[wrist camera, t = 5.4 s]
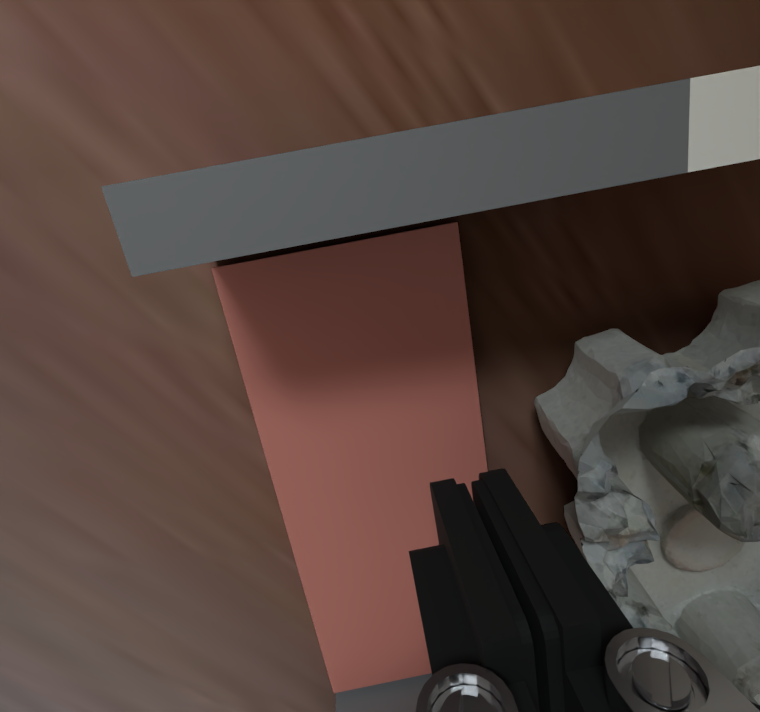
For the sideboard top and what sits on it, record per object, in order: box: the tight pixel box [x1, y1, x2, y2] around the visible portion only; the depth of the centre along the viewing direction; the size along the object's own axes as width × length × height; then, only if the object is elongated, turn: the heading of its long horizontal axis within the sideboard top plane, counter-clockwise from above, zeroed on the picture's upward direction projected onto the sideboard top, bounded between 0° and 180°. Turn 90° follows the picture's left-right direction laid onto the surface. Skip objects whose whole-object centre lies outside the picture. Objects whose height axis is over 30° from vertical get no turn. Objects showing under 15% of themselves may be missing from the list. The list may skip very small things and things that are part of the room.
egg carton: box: [534, 280, 760, 705], centre depth 10 cm, size 11×8×4 cm
